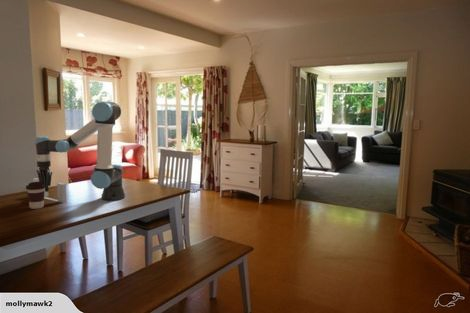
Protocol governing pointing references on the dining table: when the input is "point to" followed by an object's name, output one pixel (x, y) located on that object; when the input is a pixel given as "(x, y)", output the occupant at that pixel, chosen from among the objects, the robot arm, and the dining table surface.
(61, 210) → the dining table surface
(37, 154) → the robot arm
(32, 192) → the coffee cup
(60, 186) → the wall frame
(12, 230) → the dining table surface
